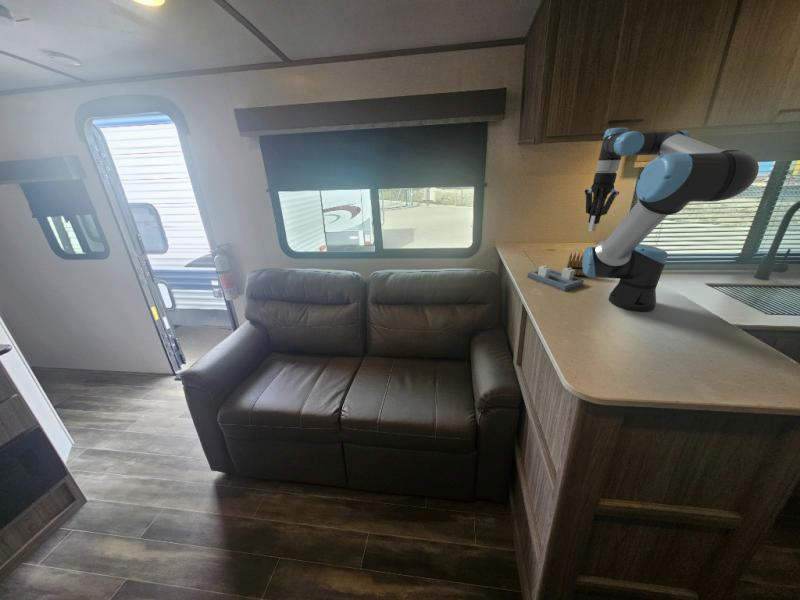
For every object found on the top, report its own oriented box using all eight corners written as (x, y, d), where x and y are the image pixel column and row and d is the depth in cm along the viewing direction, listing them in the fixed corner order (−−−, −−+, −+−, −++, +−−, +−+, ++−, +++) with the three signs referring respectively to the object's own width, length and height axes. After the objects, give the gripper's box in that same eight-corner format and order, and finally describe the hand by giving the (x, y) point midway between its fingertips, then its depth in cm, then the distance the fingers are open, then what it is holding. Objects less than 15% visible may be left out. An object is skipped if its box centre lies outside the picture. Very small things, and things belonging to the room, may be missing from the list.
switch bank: (582, 285, 138) (584, 279, 137) (564, 291, 132) (565, 285, 131) (545, 272, 154) (546, 267, 153) (527, 277, 148) (528, 271, 147)
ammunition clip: (564, 276, 149) (569, 253, 144) (563, 275, 151) (568, 251, 146) (588, 277, 147) (594, 253, 142) (586, 276, 149) (592, 252, 144)
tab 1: (548, 278, 143) (550, 266, 141) (544, 279, 142) (546, 268, 139) (541, 275, 146) (543, 264, 144) (537, 276, 145) (539, 265, 143)
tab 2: (572, 280, 140) (575, 268, 138) (568, 281, 139) (571, 270, 136) (564, 277, 143) (567, 266, 141) (560, 278, 142) (563, 267, 140)
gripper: (629, 172, 117) (612, 232, 127) (595, 171, 127) (582, 227, 137) (618, 172, 114) (601, 234, 124) (584, 172, 124) (571, 229, 134)
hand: (591, 230), depth 131 cm, fingers closed
